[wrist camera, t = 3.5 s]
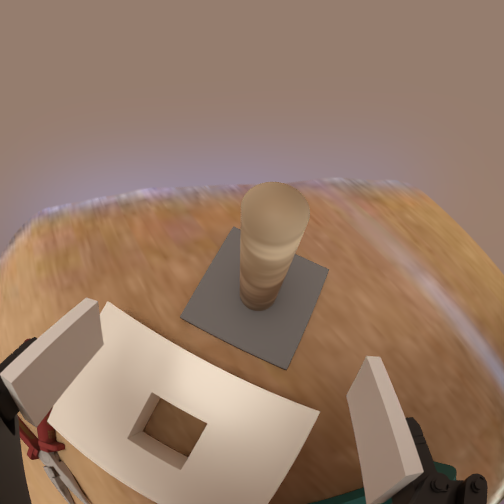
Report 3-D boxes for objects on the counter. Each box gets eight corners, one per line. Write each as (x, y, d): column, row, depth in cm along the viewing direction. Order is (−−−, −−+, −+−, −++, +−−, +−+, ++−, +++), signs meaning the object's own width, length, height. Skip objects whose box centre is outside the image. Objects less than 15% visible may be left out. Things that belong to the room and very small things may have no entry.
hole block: (308, 407, 22) (320, 411, 19) (242, 519, 16) (242, 538, 13) (124, 312, 25) (107, 301, 22) (68, 419, 19) (47, 421, 16)
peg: (282, 285, 27) (318, 197, 14) (266, 317, 25) (295, 250, 13) (249, 270, 27) (259, 173, 15) (233, 301, 26) (228, 220, 13)
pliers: (60, 512, 13) (49, 517, 11) (-7, 370, 20) (-20, 366, 18) (124, 498, 17) (114, 506, 14) (41, 337, 24) (28, 333, 21)
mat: (327, 271, 28) (329, 269, 28) (285, 369, 24) (286, 369, 23) (233, 228, 30) (233, 226, 30) (180, 318, 25) (179, 316, 25)
